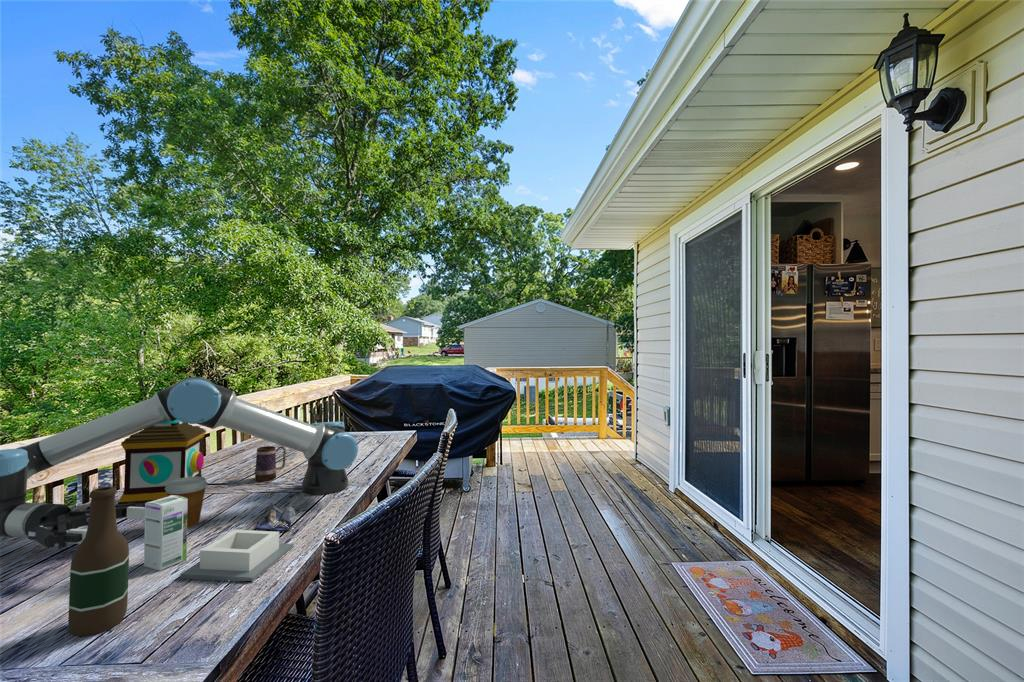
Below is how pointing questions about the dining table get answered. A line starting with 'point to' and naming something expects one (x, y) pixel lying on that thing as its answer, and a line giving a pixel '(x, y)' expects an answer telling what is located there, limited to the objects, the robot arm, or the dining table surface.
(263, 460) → the mug
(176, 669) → the dining table surface
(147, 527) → the syrup box
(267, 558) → the socket holder
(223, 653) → the dining table surface
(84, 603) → the beer bottle
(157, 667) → the dining table surface
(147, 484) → the decorative lantern
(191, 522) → the disposable coffee cup
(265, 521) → the snack package
